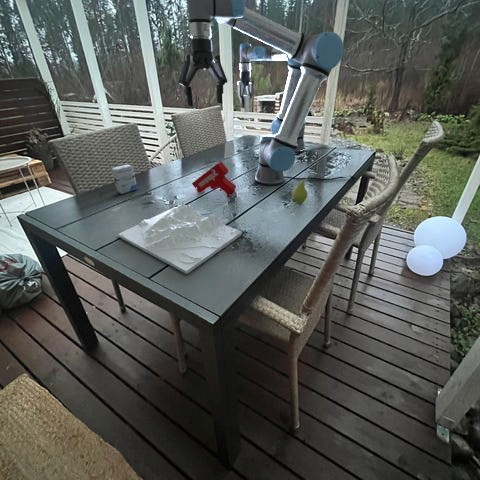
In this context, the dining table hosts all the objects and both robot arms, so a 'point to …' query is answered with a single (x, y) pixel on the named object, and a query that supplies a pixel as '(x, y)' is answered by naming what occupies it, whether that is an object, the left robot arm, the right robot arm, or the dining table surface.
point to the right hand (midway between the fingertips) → (245, 107)
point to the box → (245, 104)
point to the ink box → (124, 178)
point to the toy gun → (215, 180)
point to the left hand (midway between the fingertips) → (205, 104)
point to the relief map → (181, 237)
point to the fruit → (300, 192)
